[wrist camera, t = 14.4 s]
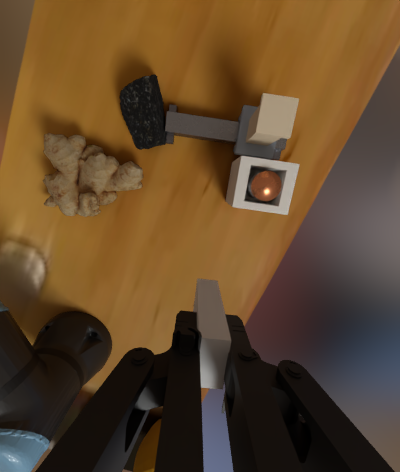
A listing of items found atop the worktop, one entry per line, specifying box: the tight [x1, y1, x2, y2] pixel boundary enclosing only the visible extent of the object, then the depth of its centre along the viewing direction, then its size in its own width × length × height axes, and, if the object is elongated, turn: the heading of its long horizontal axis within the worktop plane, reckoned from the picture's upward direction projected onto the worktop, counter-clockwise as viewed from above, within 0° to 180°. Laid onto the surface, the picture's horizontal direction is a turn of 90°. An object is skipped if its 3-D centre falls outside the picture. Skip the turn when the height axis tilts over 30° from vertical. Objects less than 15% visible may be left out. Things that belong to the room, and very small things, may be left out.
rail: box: [165, 105, 287, 160], centre depth 37 cm, size 20×6×2 cm, turn 82°
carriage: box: [233, 93, 299, 159], centre depth 32 cm, size 6×7×13 cm
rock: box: [120, 74, 167, 149], centre depth 35 cm, size 7×10×6 cm
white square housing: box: [226, 156, 299, 215], centre depth 36 cm, size 8×7×10 cm
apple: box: [133, 419, 161, 472], centre depth 48 cm, size 11×11×13 cm
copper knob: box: [246, 171, 282, 201], centre depth 33 cm, size 4×4×6 cm
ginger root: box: [43, 133, 143, 217], centre depth 38 cm, size 16×16×8 cm
